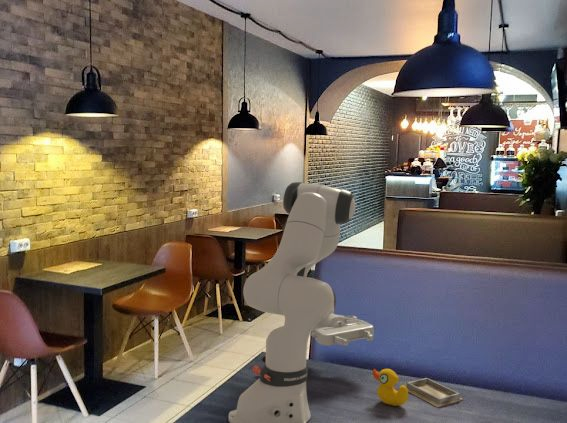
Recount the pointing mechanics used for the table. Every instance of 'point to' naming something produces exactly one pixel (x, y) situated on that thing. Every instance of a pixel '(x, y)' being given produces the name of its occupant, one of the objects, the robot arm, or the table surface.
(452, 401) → the shallow wooden tray
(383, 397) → the duckling
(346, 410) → the table surface
